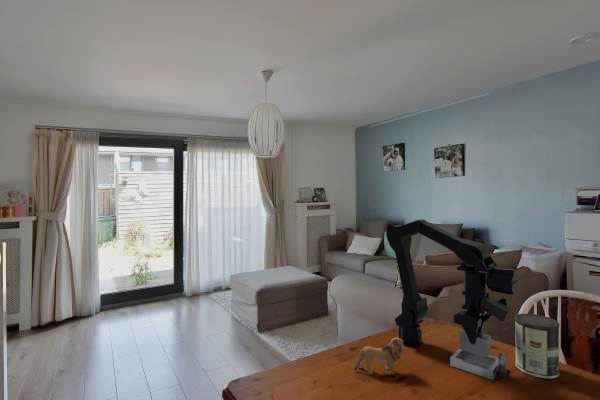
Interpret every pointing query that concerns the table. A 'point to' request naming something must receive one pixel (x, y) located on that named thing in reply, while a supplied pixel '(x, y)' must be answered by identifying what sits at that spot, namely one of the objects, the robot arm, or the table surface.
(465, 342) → the block
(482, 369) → the keeper cradle
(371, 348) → the lion figurine
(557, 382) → the table surface
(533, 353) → the coffee can
